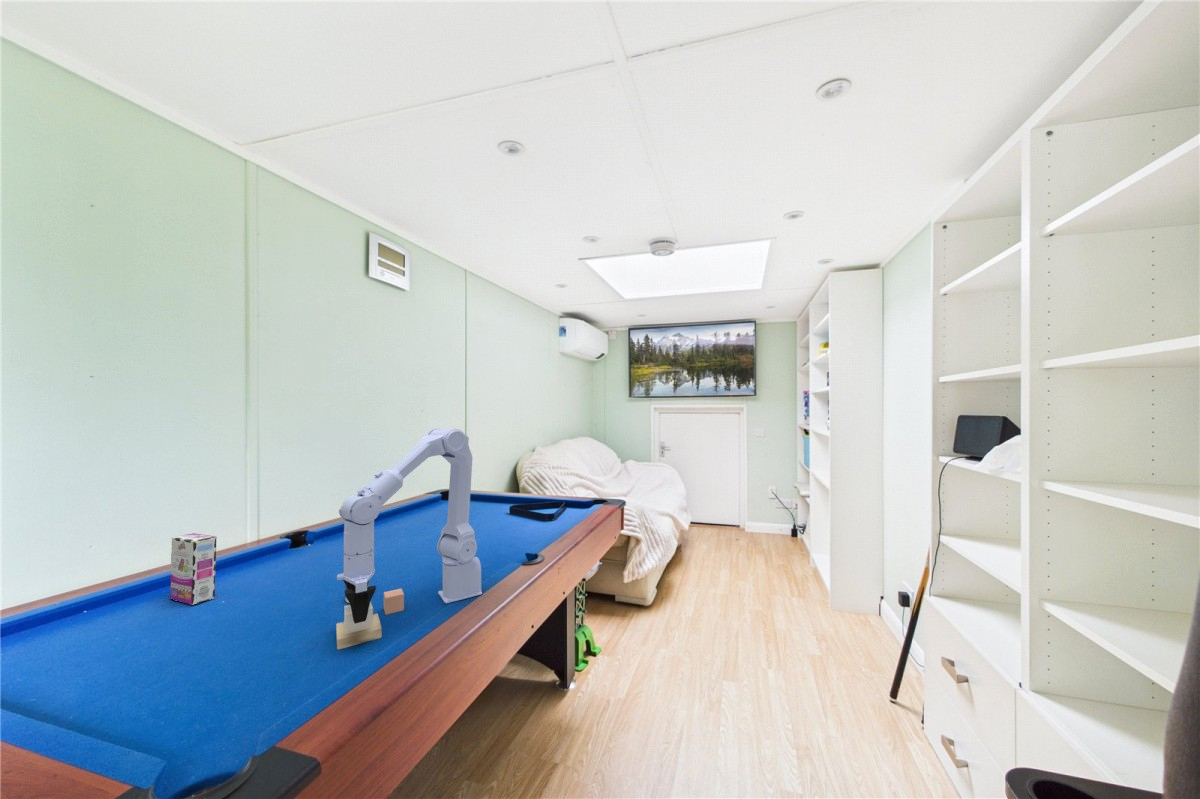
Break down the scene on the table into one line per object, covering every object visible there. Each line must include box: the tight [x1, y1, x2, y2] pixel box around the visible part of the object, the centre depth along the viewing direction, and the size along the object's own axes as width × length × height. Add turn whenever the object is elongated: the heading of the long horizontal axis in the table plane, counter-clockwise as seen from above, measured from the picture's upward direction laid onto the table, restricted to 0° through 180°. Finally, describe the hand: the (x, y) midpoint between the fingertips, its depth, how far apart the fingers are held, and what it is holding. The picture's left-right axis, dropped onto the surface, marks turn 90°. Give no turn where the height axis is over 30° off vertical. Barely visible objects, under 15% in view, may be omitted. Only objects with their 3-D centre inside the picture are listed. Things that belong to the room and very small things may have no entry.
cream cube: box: [343, 600, 374, 634], centre depth 89 cm, size 5×5×4 cm
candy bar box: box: [169, 532, 217, 606], centre depth 109 cm, size 11×5×16 cm, turn 68°
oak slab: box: [335, 613, 383, 651], centre depth 89 cm, size 8×8×2 cm
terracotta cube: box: [383, 588, 405, 616], centre depth 101 cm, size 4×4×4 cm
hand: (358, 614), depth 89 cm, fingers open, 7 cm apart
